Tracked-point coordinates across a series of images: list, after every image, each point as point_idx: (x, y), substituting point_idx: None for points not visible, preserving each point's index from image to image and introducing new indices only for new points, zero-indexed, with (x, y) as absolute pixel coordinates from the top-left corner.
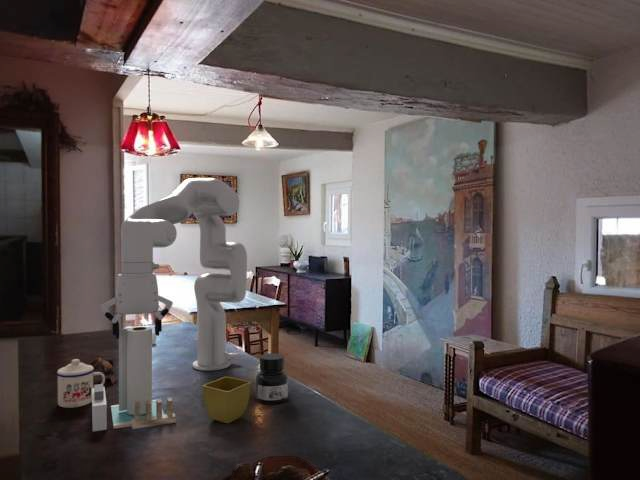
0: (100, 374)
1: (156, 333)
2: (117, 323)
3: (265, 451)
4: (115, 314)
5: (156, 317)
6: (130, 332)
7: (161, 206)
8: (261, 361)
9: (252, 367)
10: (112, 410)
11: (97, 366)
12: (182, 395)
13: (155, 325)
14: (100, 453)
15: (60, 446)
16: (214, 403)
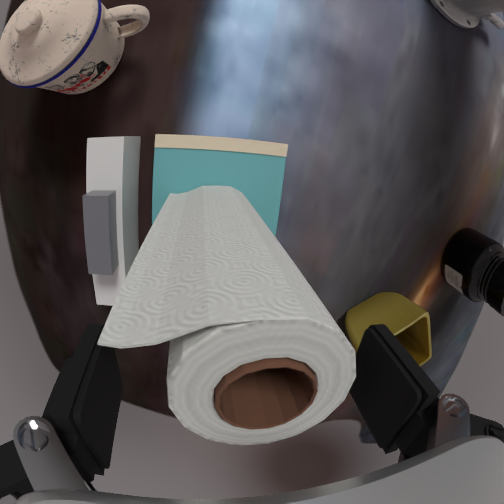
0: (128, 17)
1: (349, 391)
2: (98, 473)
3: (341, 411)
4: (44, 488)
5: (407, 446)
6: (192, 425)
7: None
8: (498, 295)
9: (500, 65)
10: (155, 172)
11: None
12: (353, 129)
13: (381, 394)
14: (136, 363)
15: (69, 313)
16: (355, 352)
